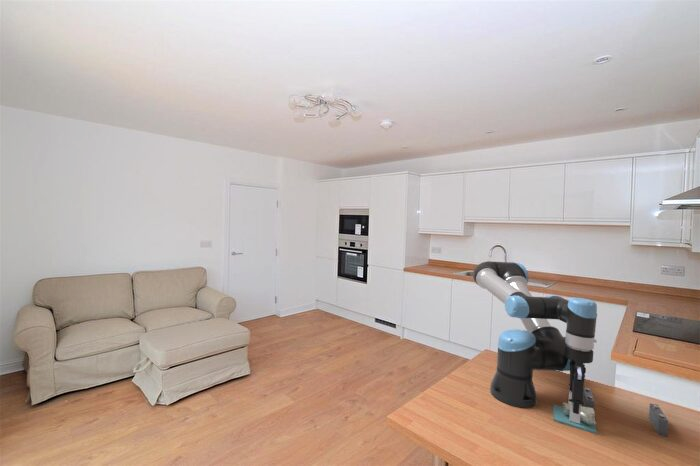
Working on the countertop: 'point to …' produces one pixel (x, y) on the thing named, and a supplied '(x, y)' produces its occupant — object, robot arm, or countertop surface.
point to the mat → (564, 419)
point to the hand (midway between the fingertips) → (573, 416)
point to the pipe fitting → (582, 414)
